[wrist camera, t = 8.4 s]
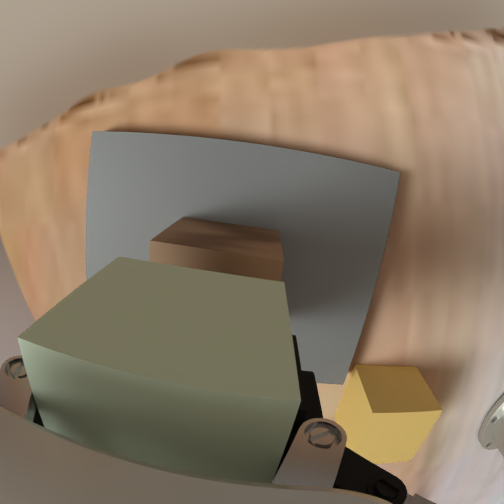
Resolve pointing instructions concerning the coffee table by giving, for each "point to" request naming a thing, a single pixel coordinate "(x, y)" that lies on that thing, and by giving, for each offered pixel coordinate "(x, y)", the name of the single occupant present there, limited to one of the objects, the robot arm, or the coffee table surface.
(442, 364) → the coffee table surface
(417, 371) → the ochre block
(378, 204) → the slate base board
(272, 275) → the walnut base block
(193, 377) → the sage-green block
